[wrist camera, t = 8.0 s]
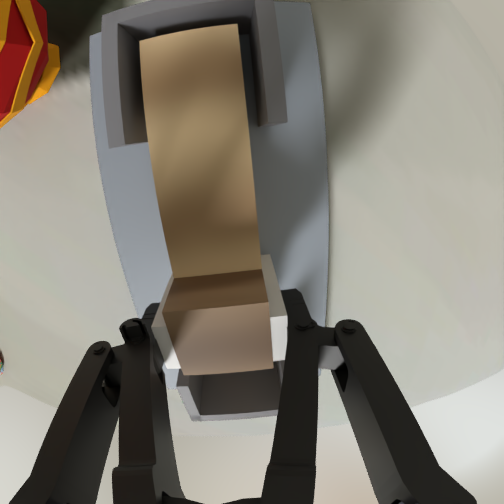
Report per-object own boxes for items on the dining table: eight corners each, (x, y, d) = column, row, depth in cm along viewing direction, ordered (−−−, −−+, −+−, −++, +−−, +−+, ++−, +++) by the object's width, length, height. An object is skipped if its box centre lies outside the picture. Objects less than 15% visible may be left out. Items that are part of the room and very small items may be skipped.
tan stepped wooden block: (159, 60, 13) (115, 20, 7) (236, 47, 13) (238, -5, 7) (202, 323, 20) (193, 398, 14) (263, 317, 20) (275, 392, 14)
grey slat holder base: (99, 41, 13) (50, 14, 7) (304, 11, 13) (334, -34, 7) (170, 377, 25) (160, 432, 19) (316, 364, 25) (334, 418, 19)
